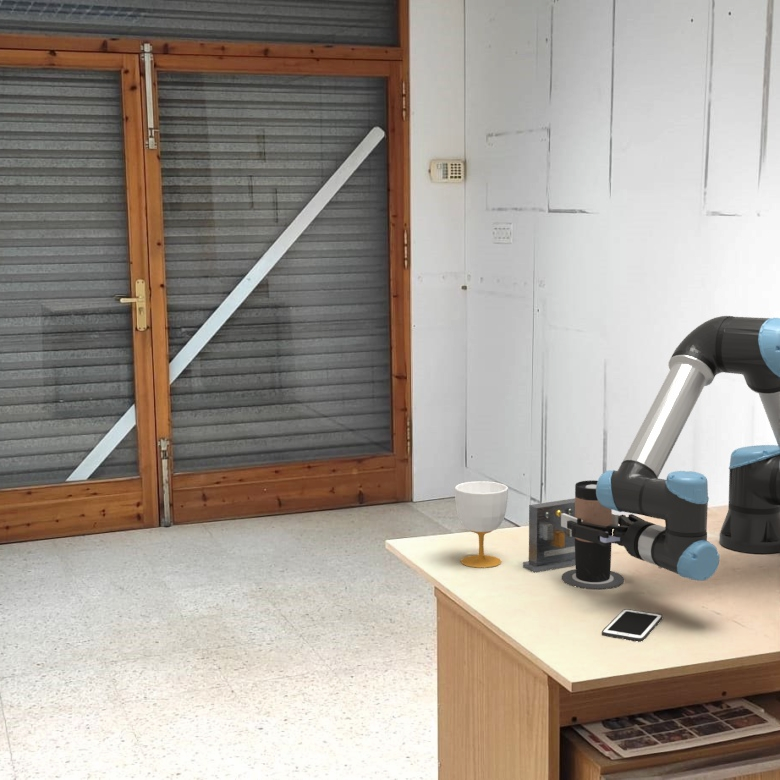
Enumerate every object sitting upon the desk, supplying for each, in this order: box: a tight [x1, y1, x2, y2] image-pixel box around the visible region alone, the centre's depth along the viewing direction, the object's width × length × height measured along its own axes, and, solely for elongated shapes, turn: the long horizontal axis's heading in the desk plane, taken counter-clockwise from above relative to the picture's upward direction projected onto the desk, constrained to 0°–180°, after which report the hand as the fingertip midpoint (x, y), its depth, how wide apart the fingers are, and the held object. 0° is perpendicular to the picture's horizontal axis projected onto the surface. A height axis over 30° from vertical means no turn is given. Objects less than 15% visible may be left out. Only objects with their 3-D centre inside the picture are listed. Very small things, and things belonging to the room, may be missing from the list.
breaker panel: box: [522, 497, 576, 573], centre depth 246 cm, size 16×5×14 cm, turn 118°
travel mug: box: [574, 479, 613, 582], centre depth 236 cm, size 8×8×20 cm
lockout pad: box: [561, 568, 625, 590], centre depth 237 cm, size 13×13×1 cm
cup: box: [454, 480, 509, 569], centre depth 249 cm, size 12×12×17 cm
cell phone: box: [601, 608, 664, 643], centre depth 210 cm, size 8×15×1 cm, turn 151°
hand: (580, 516), depth 239 cm, fingers open, 8 cm apart
